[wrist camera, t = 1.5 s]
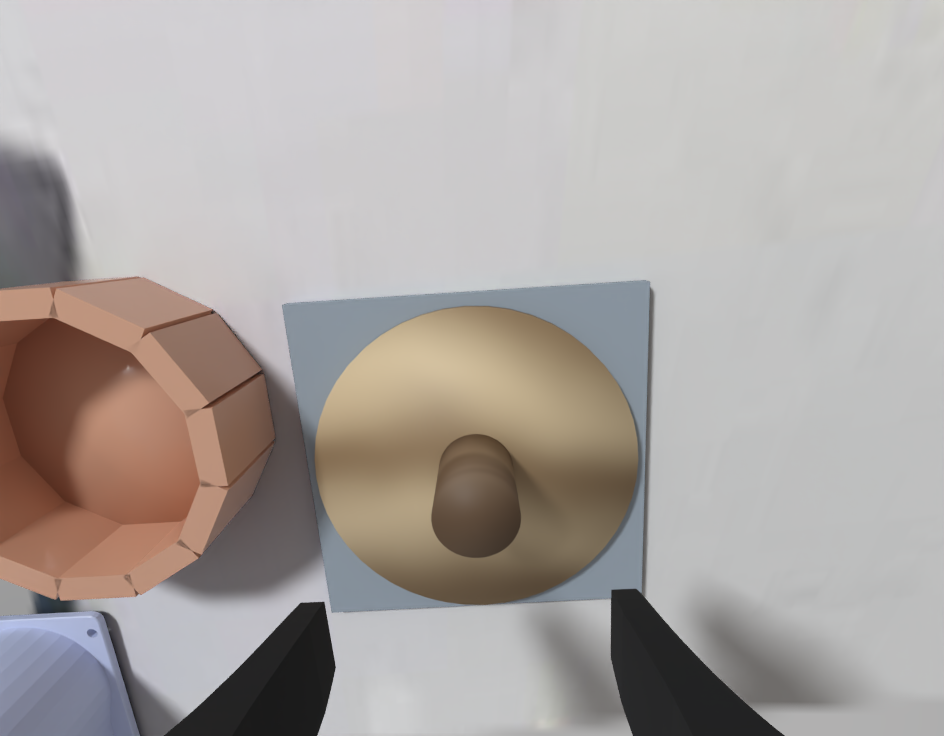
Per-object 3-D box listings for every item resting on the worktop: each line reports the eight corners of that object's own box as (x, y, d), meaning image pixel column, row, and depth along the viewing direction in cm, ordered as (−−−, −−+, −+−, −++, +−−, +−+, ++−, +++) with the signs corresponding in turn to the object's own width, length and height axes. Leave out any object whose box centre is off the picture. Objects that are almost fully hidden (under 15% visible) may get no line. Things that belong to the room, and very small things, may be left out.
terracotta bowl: (291, 525, 24) (249, 590, 19) (44, 539, 24) (-52, 606, 20) (245, 269, 21) (184, 278, 16) (-38, 288, 21) (-173, 301, 17)
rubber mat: (637, 588, 25) (641, 596, 24) (335, 603, 25) (331, 612, 24) (645, 280, 21) (649, 281, 20) (287, 303, 21) (281, 305, 20)
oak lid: (631, 588, 24) (667, 669, 19) (340, 603, 24) (310, 685, 20) (637, 294, 20) (682, 310, 16) (296, 316, 21) (246, 338, 16)
